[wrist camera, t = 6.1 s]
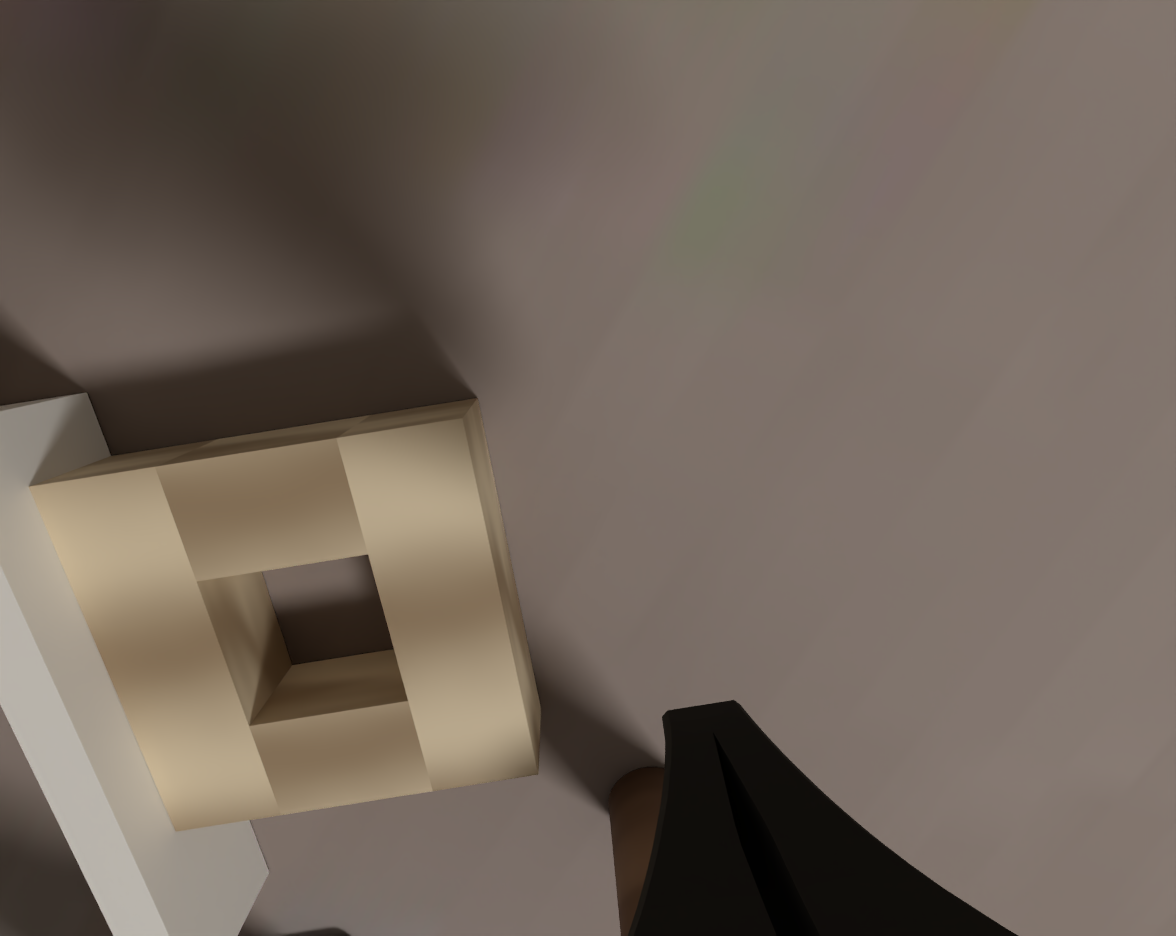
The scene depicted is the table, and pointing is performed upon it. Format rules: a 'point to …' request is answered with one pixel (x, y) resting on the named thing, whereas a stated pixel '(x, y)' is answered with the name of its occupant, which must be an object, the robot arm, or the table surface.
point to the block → (251, 630)
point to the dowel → (633, 835)
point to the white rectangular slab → (96, 714)
